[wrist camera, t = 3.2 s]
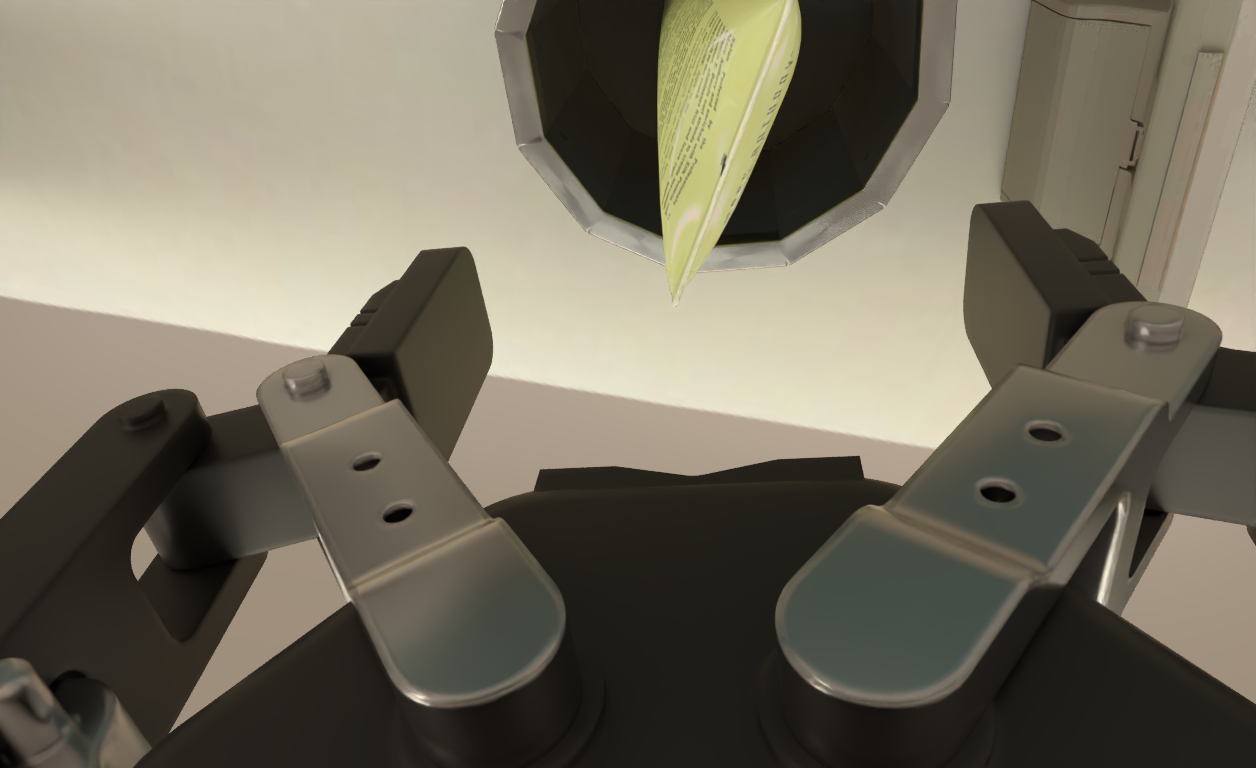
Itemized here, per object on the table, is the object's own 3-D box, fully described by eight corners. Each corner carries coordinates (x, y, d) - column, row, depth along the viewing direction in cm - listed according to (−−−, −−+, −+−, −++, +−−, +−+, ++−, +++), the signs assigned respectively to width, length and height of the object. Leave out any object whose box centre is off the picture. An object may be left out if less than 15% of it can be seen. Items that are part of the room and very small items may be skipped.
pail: (583, 189, 40) (544, 285, 31) (525, -164, 33) (454, -162, 24) (892, 161, 38) (940, 255, 29) (906, -224, 30) (974, -245, 22)
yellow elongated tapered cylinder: (808, 53, 36) (876, 239, 19) (695, 101, 37) (671, 312, 21) (761, -87, 33) (796, -10, 17) (643, -29, 35) (568, 94, 18)
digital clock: (1131, 282, 40) (1247, 411, 31) (938, 252, 40) (999, 372, 31) (1330, -120, 31) (1575, -101, 22) (1081, -156, 31) (1224, -152, 22)
